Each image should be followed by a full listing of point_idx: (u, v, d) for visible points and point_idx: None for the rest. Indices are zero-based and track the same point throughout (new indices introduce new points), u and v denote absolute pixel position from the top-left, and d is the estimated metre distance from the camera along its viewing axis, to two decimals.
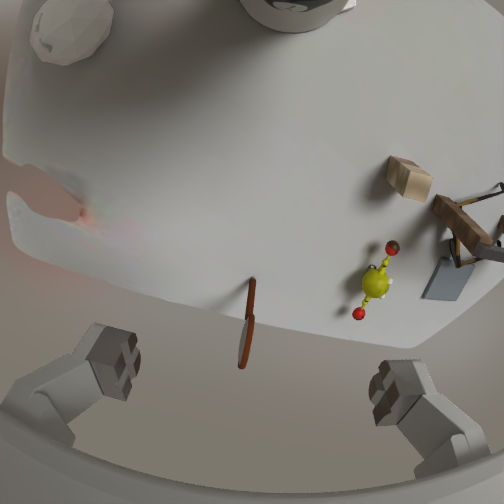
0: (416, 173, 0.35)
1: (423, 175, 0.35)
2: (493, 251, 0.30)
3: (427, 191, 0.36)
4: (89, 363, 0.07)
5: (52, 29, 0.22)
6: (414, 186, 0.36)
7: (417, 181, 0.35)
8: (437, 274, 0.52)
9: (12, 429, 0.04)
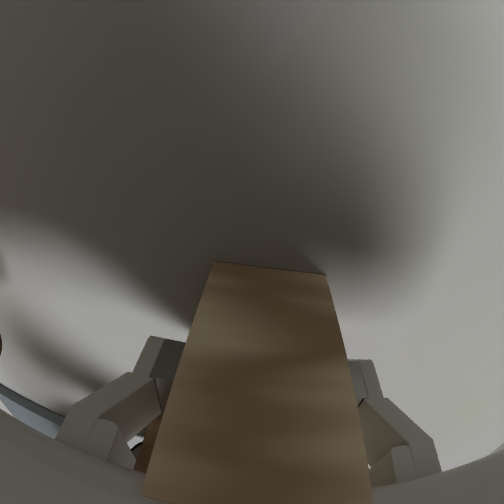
0: None
1: None
2: None
3: None
4: (154, 380, 0.07)
5: None
6: None
7: None
8: (36, 415, 0.18)
9: (12, 429, 0.04)
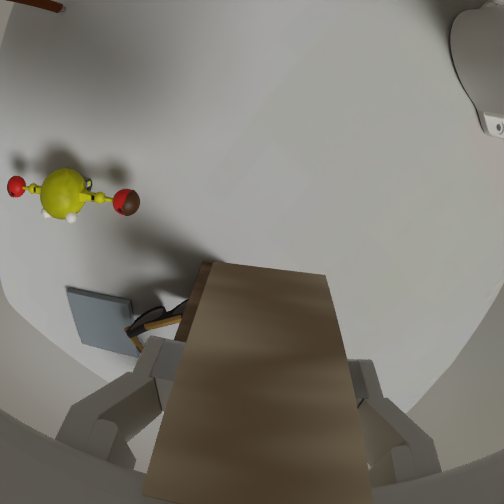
0: None
1: None
2: None
3: None
4: (154, 380, 0.07)
5: None
6: None
7: None
8: (105, 302, 0.35)
9: (12, 429, 0.04)
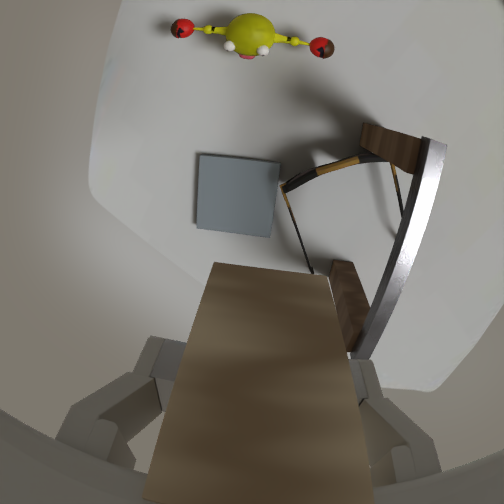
0: None
1: None
2: (438, 174, 0.19)
3: None
4: (154, 381, 0.07)
5: None
6: None
7: None
8: (252, 163, 0.35)
9: (12, 429, 0.04)
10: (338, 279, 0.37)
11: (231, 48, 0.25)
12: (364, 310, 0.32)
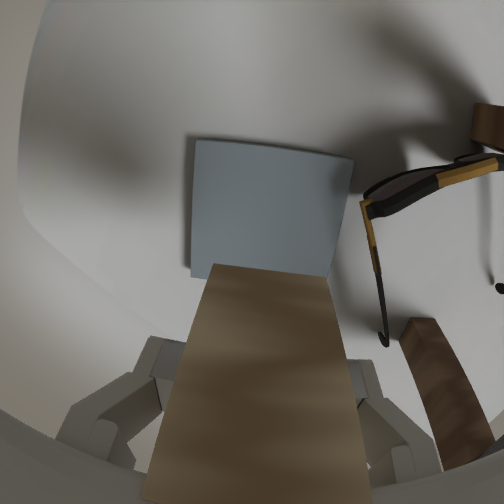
0: None
1: None
2: None
3: None
4: (154, 380, 0.07)
5: None
6: None
7: None
8: (300, 157, 0.17)
9: (12, 429, 0.04)
10: (427, 356, 0.20)
11: None
12: (475, 410, 0.14)
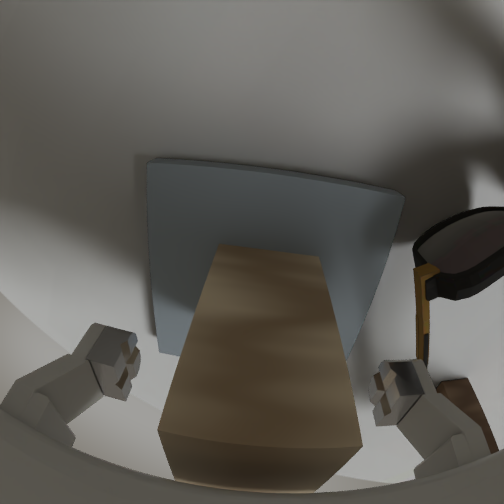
0: (338, 464, 0.05)
1: (322, 479, 0.06)
2: None
3: None
4: (89, 363, 0.07)
5: None
6: (254, 467, 0.05)
7: (288, 473, 0.05)
8: (321, 190, 0.10)
9: (12, 429, 0.04)
10: None
11: None
12: None
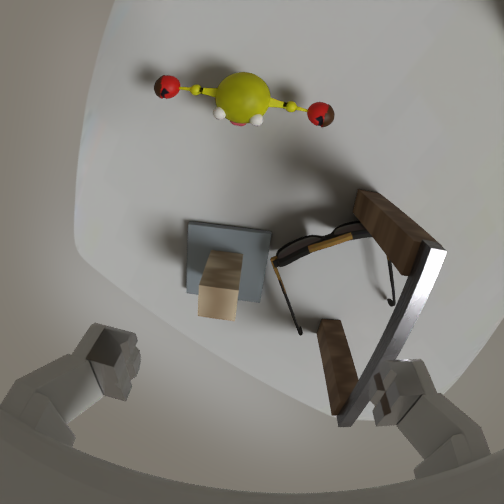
0: (236, 298, 0.30)
1: (235, 308, 0.30)
2: (433, 279, 0.19)
3: (213, 316, 0.31)
4: (89, 363, 0.07)
5: None
6: (217, 298, 0.30)
7: (225, 301, 0.30)
8: (242, 233, 0.35)
9: (12, 429, 0.04)
10: (326, 342, 0.38)
11: (221, 117, 0.25)
12: (351, 376, 0.32)
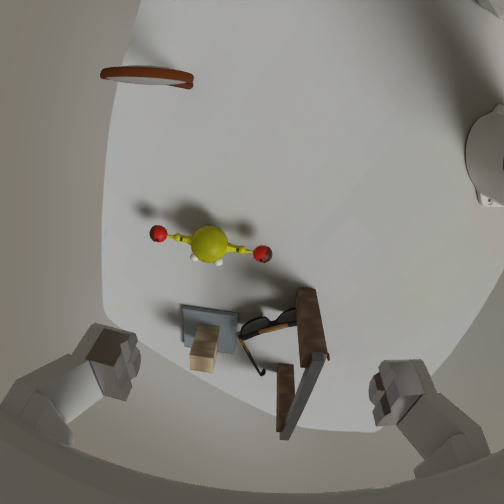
0: (212, 362, 0.46)
1: (212, 366, 0.47)
2: (318, 373, 0.35)
3: (199, 370, 0.48)
4: (89, 363, 0.07)
5: None
6: (201, 361, 0.47)
7: (206, 363, 0.47)
8: (218, 315, 0.52)
9: (12, 429, 0.04)
10: (279, 382, 0.54)
11: (195, 260, 0.42)
12: None
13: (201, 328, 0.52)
